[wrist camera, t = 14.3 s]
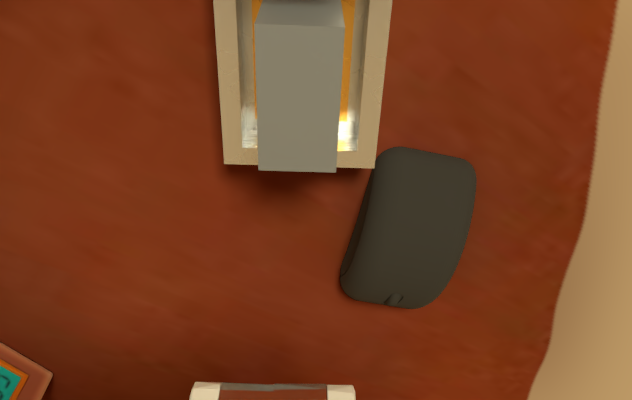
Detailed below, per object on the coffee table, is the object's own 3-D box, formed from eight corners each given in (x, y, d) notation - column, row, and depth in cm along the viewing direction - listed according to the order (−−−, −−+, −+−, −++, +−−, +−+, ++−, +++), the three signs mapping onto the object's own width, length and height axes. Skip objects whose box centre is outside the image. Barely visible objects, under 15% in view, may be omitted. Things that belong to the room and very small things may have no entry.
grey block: (266, -11, 26) (254, 23, 21) (339, -9, 26) (345, 26, 21) (268, 115, 29) (258, 170, 24) (332, 116, 30) (335, 172, 25)
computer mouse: (334, 282, 38) (336, 325, 34) (379, 139, 32) (387, 174, 28) (421, 297, 38) (431, 340, 35) (481, 160, 32) (501, 196, 29)
